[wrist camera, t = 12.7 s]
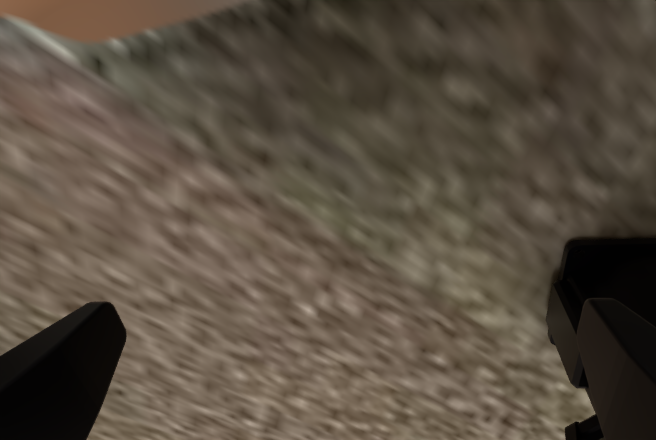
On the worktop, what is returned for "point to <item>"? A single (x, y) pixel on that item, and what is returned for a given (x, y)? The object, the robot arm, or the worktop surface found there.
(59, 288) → the worktop surface
